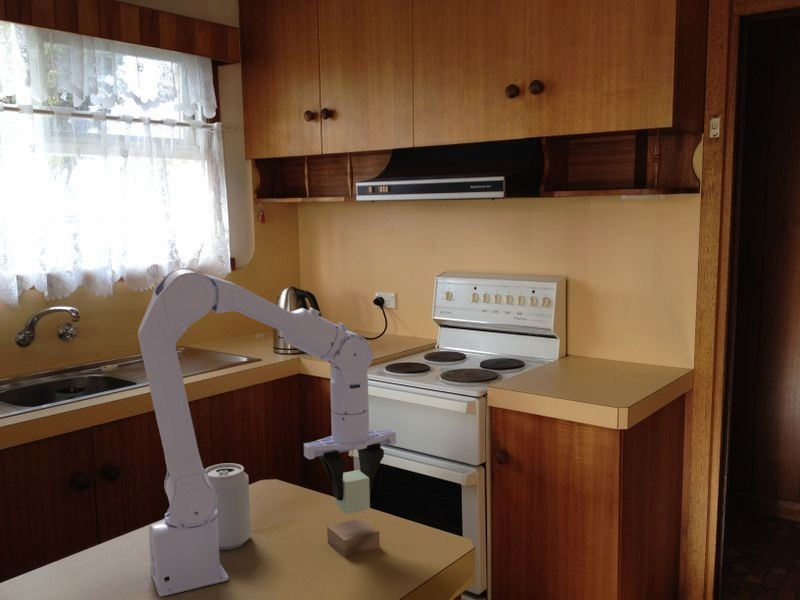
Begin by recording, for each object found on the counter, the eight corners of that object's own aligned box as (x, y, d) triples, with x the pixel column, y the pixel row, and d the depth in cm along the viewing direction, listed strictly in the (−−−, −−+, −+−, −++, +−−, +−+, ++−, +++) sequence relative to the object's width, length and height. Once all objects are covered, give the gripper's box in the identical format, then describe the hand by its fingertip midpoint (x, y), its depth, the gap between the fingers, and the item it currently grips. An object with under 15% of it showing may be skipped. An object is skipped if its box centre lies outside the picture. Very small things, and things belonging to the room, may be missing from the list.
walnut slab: (344, 559, 113) (344, 540, 112) (327, 544, 118) (327, 526, 117) (379, 549, 116) (379, 531, 115) (361, 535, 121) (361, 517, 120)
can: (254, 530, 122) (251, 459, 121) (246, 551, 115) (243, 476, 114) (208, 532, 122) (205, 461, 121) (197, 553, 115) (193, 477, 113)
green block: (345, 514, 113) (345, 482, 112) (335, 505, 117) (335, 474, 116) (369, 509, 115) (369, 477, 114) (359, 500, 118) (358, 469, 118)
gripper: (314, 423, 107) (317, 514, 109) (404, 409, 114) (405, 495, 115) (297, 411, 113) (300, 497, 115) (383, 399, 120) (385, 480, 122)
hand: (352, 495), depth 116 cm, fingers closed on green block, 4 cm apart
